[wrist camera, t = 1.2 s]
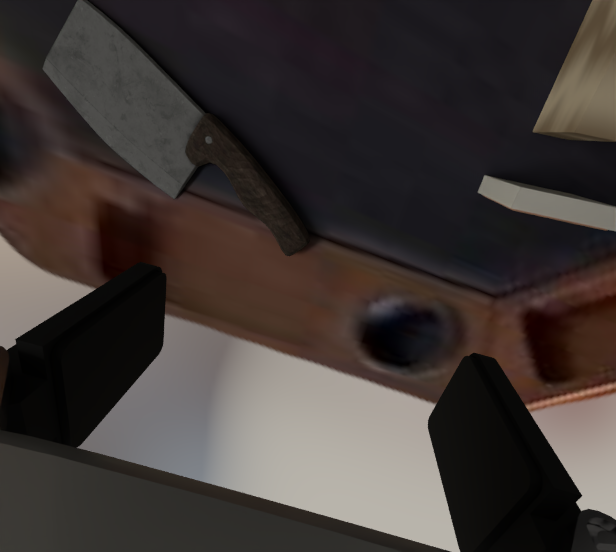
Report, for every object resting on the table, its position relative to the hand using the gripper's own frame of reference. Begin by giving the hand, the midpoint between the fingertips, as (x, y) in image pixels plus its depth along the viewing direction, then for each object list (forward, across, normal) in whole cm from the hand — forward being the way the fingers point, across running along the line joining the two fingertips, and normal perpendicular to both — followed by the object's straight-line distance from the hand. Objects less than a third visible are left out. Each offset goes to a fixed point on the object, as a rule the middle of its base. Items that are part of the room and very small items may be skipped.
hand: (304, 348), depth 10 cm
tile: (+25, -17, -5) cm, 30 cm away
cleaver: (+25, +16, 0) cm, 30 cm away
